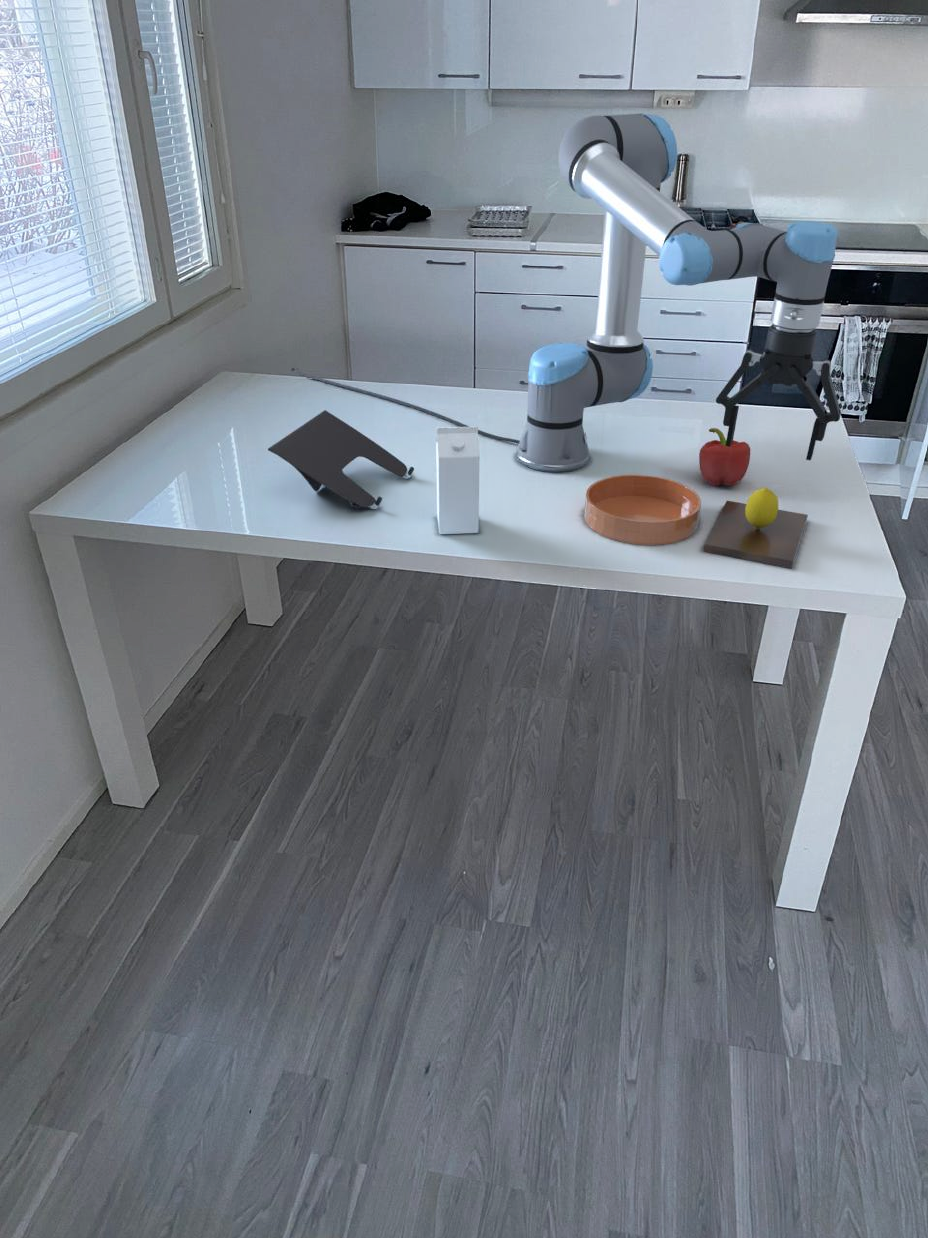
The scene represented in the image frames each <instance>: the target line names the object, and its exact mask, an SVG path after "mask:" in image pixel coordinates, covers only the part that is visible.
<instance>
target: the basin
mask: <svg viewBox="0 0 928 1238" xmlns="http://www.w3.org/2000/svg"><path fill="white" fill-rule="evenodd" d="M701 509H702V499H701V497H700V495H699V494H698V493H697V492H696V491H695V490H694V489H693V488H691V487H689V486H688V485H685V484H683V483H681V482H679V481H675V480H672V479H669V478H664V477H661V476H655V475H648V474H647V475H646V474H621V475H614V476H610V477H605V478H602V479H600V480H597V481H595V482H594V483H591V485H590V486H588V488H586V492H585V499H584V511H583V515H584V516H583V517H584V521H585V523H586V525H587V526H588V527H589V528H590V529H591V530H593V531H594V532H595V533H597V534H599V535H601V536H603V537H605V538H608V539H610V540H614V541H618V542H620V543H621V542H622V543H625V544H632V545H639V546H642V545H643V546H660V545H661V546H662V545H669V544H674V543H678V542H681V541H684V540H686V539H688V538H690V537H691V536H693V535H694V534H695V533H696V531H697V529H698V526H699V522H700V515H701Z"/></svg>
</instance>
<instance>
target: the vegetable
mask: <svg viewBox="0 0 928 1238" xmlns="http://www.w3.org/2000/svg"><path fill="white" fill-rule="evenodd" d="M708 432H710V433H713V434H715V433H716V434H717V436H718V438H719V440H717V439H713V440H711V441H707V442H705V443H704V445H702V446H701V448H700V449H699V454H698V459H699V460H698V462H699V464H698V465H699V470H700V474H701V476H702V478H703V480H704V481H705V482H706V483H708V484H710V485H711V486H720V485H724V486H728V487H730V486H733V485H736V484H738V482H740V481H742V479H743V478H744V477H745V476H746V473H747V471H748V469H749V465H750V460H751V446H750V445H749V443H748V442H746V441H737V440H734V439H733V442H732V444H731V445H730V447H728V446H726V440H727V438H726V437H725V435H724V433H723V431H722V430H720V429H719V428H716V427H711V428H710V429H708Z"/></svg>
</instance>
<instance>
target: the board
mask: <svg viewBox="0 0 928 1238" xmlns="http://www.w3.org/2000/svg"><path fill="white" fill-rule="evenodd" d="M746 504H747V503H743V502H738V501H731V500H726V501H725V503H724V505H723V506H722V509H721V511H720V512H719V515H718V517H717V519H716V521H715V523H714V524H713V527H712V529H711V531H710V533H709V535H708V537H707V538H706V541H705V543H704V545H703V552H704V553H710V554H714V555H719V556H723V557H724V556H725V557H730V558H734V559H740V560H745V561H750V562H755V563H760V564H765V565H771V566H775V567H781V568H787V569H790V570H792V569H793V565H794V562H795V560H796V556H797V553H798V551H799V547H800V544H801V541H802V538H803V535H804V531H805V527H806V524H807V521H808V516H809V514H804V513H800V512H796V511H795V512H794V511H789V510H783V509H778V513H777V516H776V518H775V520H774V521H773V522H772V523H771V524H770V525H768V526H766V527H762V528H761V529H756V528H755V526H753V525H751V524H750V523H749V522H748V520H747V518H746V513H745V509H746Z"/></svg>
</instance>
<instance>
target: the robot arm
mask: <svg viewBox="0 0 928 1238" xmlns="http://www.w3.org/2000/svg"><path fill="white" fill-rule="evenodd" d="M677 160H678V144H677V140H676V136H675V131H674V130H673V129H672V127H671V125H670V124H669V122H668V121H667V120H666V119H665V118H664V117H662V116H659V115H657V114H649V113H648V114H647V113H643V112H641V113H627V114H610V115H609V114H608V115H601V114H600V115H590V116H587V117H584V118H582V119H579V120H578V121H577V122H575V123H574V124H573V125H572V126H571V127H570V128H569V129H568V130H567V131H566V133H565V135H564V137H563V138H562V140H561V142H560V144H559V149H558V167H559V172H560V174H561V176H562V178H563V180H564V182H565V183H566V184H567V185H568V187H570V189H571V190H572V191H574V192H575V194H577V195H578V196H579V197H580V198H583V199H588V200H590V199H591V200H593V201H594V202H595V203H597V204H598V205H599V206H601V207H602V209H604V215H603V216H604V217H603V230H602V242H601V252H600V253H601V254H600V266H599V278H598V280H599V281H598V289H597V290H598V292H597V304H596V315H595V316H596V317H595V327H594V329H593V330H592V331H591V332H590V333H589V334H587V338H586V347H585V345H582V344H579V343H576V342H566V343H562V342H558V343H552V344H549V345H545V346H543V347H541V348H538V349H537V350H536V351H535V352H533V354H532V356H531V357H530V360H529V368H528V373H527V379H528V384H527V385H528V387H527V388H528V389H527V391H528V392H527V409H526V410H527V411H526V412H527V414H526V424H525V426H524V430H523V432H522V435H521V437H520V440H519V439H515V438H509V437H503V436H499V435H495V434H492V433H489V432H485V431H483V430H480V429H478V435H482V436H485V437H488V438H491V439H494V440H499V441H504V442H508V443H509V442H510V443H515V444H518V446H517V448H516V449H517V450H516V459H517V461H518V462H519V463H520V464H522V465H523V466H524V467H527V468H530V469H533V470H536V471H541V472H549V473H550V472H551V473H563V472H571V471H575V470H579V469H581V468H583V467H584V466H586V465H587V464H588V462H589V458H590V457H589V456H590V452H589V446H588V442H587V441H588V437H587V434H586V432H585V430H584V427H583V423H584V411H585V410H584V409H586V408H590V407H597V406H603V405H609V404H614V403H624V402H626V401H628V400H633V399H636V398H638V397H640V396H641V395H642V394H643V393H644V392H645V391H646V390H647V388H648V386H649V384H650V382H651V379H652V376H653V369H654V363H653V358H651V355H652V354H651V351H650V349H649V348H648V347H647V346H646V344H644V342H645V341H644V340H645V338H644V337H643V336H642V334H641V333H640V331H638V327H639V318H640V308H641V298H642V289H643V279H644V270H645V260H646V252H647V251H646V250H647V247H648V248H649V249H650V250H652V251H653V252H654V254H656V255H657V256H658V257H659V258H658V263H659V270H660V271H661V272H662V276H663V278H664V280H665V281H666V282H668V283H669V284H671V285H673V286H691V287H692V286H696V285H699V284H706V283H713V282H721V281H730V280H736V279H737V280H738V279H744V278H745V279H746V278H753V277H755V278H762V279H765V280H768V281H770V282H775V283H776V289H775V294H774V299H773V304H772V310H771V315H770V320H769V321H770V323H771V325H770V326H768V331H767V337H766V340H765V345H764V351H763V353H757V352H754V350H753V349H751V348H749V349H747V350H746V351H745V353H744V354H743V355H742V360H741V362H740V366H739V367H737V370H736V371H735V372H734V373H733V375H732V376H731V377H730V379H729V380H728V381H727V383H726V384H725V386H724V387H723V388H722V390H721V391H720V392H719V394H718V396H717V397H716V398H715V402H716V404H718V405H722V406H723V407H724V413H723V415H724V416H723V421H722V424H723V426H724V427H728V429H727V433H726V434H727V435H726V446H728V447H730V445H731V444H732V442H733V440H734V437H735V430H736V425H737V419H738V414H739V409H740V406H739V405H738V404H739V403H741V402H742V401H743V400H744V399H745V398H747V396H749V395H750V394H751V393H753V392H754V391H755V390H756V389H758V387H760V386H761V385H763V384H764V383H765V382H767V381H769V382H770V383H771V384H772V385H780V384H781V385H784V386H786V387H787V386H788V387H792V386H794V385H796V386H797V388H798V389H799V391H801V393H802V395H803V397H804V398H805V400H806V401H807V403H808V405H809V406H810V408H811V409H812V411H813V413H814V414H815V416H816V418H815V420H814V423H813V428H812V431H811V436H810V439H809V445H808V450H807V454H806V459H805V460H806V461H811V460H812V458H813V455H814V451H815V446H816V442H822V441H823V440H824V438H825V434H826V430H827V425H828V424H829V423H830V422H831V423H832V422H834V423H835V422H836V423H837V422H839V421H840V419H841V416H842V411H841V407H840V404H839V400H838V396H837V393H836V390H835V385H834V383H833V382H834V381H833V379H832V376H831V369H832V361H831V360H830V359H825V360H824V361H819V360H818V361H814V359H813V355H814V350H815V345H816V341H817V336H818V331H817V328H818V327H819V326H820V322H821V318H822V313H823V309H824V305H825V297H826V292H827V287H828V283H829V279H830V275H831V272H832V267H833V263H834V260H835V258H836V248H837V240H838V229H837V228H836V226H834V225H833V224H831V223H828V222H822V221H821V222H819V221H815V220H814V221H813V220H800V221H799V220H798V221H794V222H792V223H790V224H789V225H788V227H787V231H786V230H783V229H778V228H775V227H770V226H767V225H764V224H763V223H759V222H757V223H753V222H741V223H738V224H737V225H735V226H734V227H733V228H731V229H722V230H709V229H707V228H706V227H704V226H703V225H702V224H701V223H699V222H698V221H696V220H695V219H694V218H692V217H691V216H690V215H689V214H688V213H686V212H685V211H684V210H683V209H681V208H680V207H679V206H678V205H677V204H676V203H674V202H673V201H672V200H670V198H668V197H667V196H666V195H664V194H663V193H662V192H661V185H662V183H664V182H666V181H667V180H669V178H670V177H671V176H672V173H673V172H674V171H675V169H676V166H677ZM758 362H759V365H760V367H761V368H762V371H761V372H760V373H758V375H757V376H755V377H754V378H753V379H752V380H751V381H749V382H748V383H747V384H746V385H744V386H743V387H742V388H741V389H740V390H738V391H737V392H736V393H734V394H733V395H732V396H731V397H729V394H730V393H731V391H732V390H734V389H733V388H735V386H736V385H737V384H738V382H739V381H740V380H741V378H742V377H743V375H744V374H745V372H746V371H747V370H748V368H749V367H754V365H755V364H756V363H758ZM812 370H815V372H816V375H817V376H819V377H820V382H821V386H822V389H823V393H824V397H825V400H826V403H827V407H828V410H829V412H828V410H827V409H826V407H825V405H824V404H823V403H822V400H821V399H820V396H819V395H818V394H817V392H816V391H815V389H814V387H813V385H812V384H811V382H810V379H809V377H808V374H809V373H810V372H811V371H812ZM294 371H296V372H297V374H298V375H300V376H302V377H305V378H308V379H311V380H315V381H317V382H321V383H326V384H329V385H333V386H337V387H340V388H343V389H348V390H351V391H354V392H359V393H363V394H366V395H370V396H373V397H375V398H376V397H377V398H380V399H384V400H387V401H391V402H393V403H396V404H400V405H403V406H406V407H409V408H412V409H415V410H418V411H421V412H424V413H426V414H428V415H432V416H434V417H437V418H439V419H442V420H444V421H447V422H450V423H452V424H454V425H457V426H458V427H470V426H469V425H467V424H465V423H462V422H460V421H457V420H455V419H452V418H450V417H447V416H445V415H443V414H440V413H438V412H434V411H432V410H429V409H426V408H424V407H421V406H418V405H415V404H411V403H409V402H406V401H403V400H399V399H396V398H393V397H390V396H386V395H383V394H380V393H376V392H373V391H369V390H366V389H361V388H358V387H354V386H351V385H347V384H343V383H339V382H336V381H332V380H329V379H325V378H321V377H317V376H313V375H309V374H307V373H304V372H302V371H300V369H299V368H298V367H297V366H293V367H291V369H290V372H294Z"/></svg>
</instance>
